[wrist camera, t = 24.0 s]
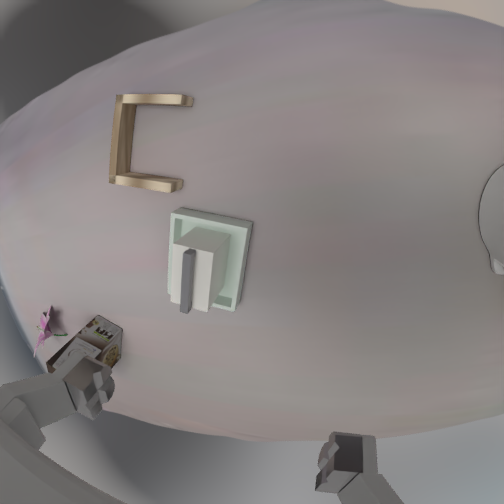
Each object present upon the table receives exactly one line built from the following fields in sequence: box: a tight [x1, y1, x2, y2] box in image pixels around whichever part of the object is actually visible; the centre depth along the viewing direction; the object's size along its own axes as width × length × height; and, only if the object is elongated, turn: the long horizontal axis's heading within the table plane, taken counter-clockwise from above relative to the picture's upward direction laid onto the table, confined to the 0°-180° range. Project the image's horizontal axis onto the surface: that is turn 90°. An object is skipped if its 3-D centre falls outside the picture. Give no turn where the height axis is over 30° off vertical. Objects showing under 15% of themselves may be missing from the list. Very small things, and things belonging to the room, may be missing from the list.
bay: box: [109, 94, 193, 193], centre depth 36 cm, size 10×12×4 cm
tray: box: [168, 208, 253, 312], centre depth 41 cm, size 10×12×3 cm
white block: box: [171, 227, 231, 314], centre depth 38 cm, size 5×8×9 cm, turn 171°
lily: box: [34, 306, 68, 357], centre depth 54 cm, size 12×12×10 cm
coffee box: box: [46, 315, 122, 374], centre depth 47 cm, size 9×6×16 cm
